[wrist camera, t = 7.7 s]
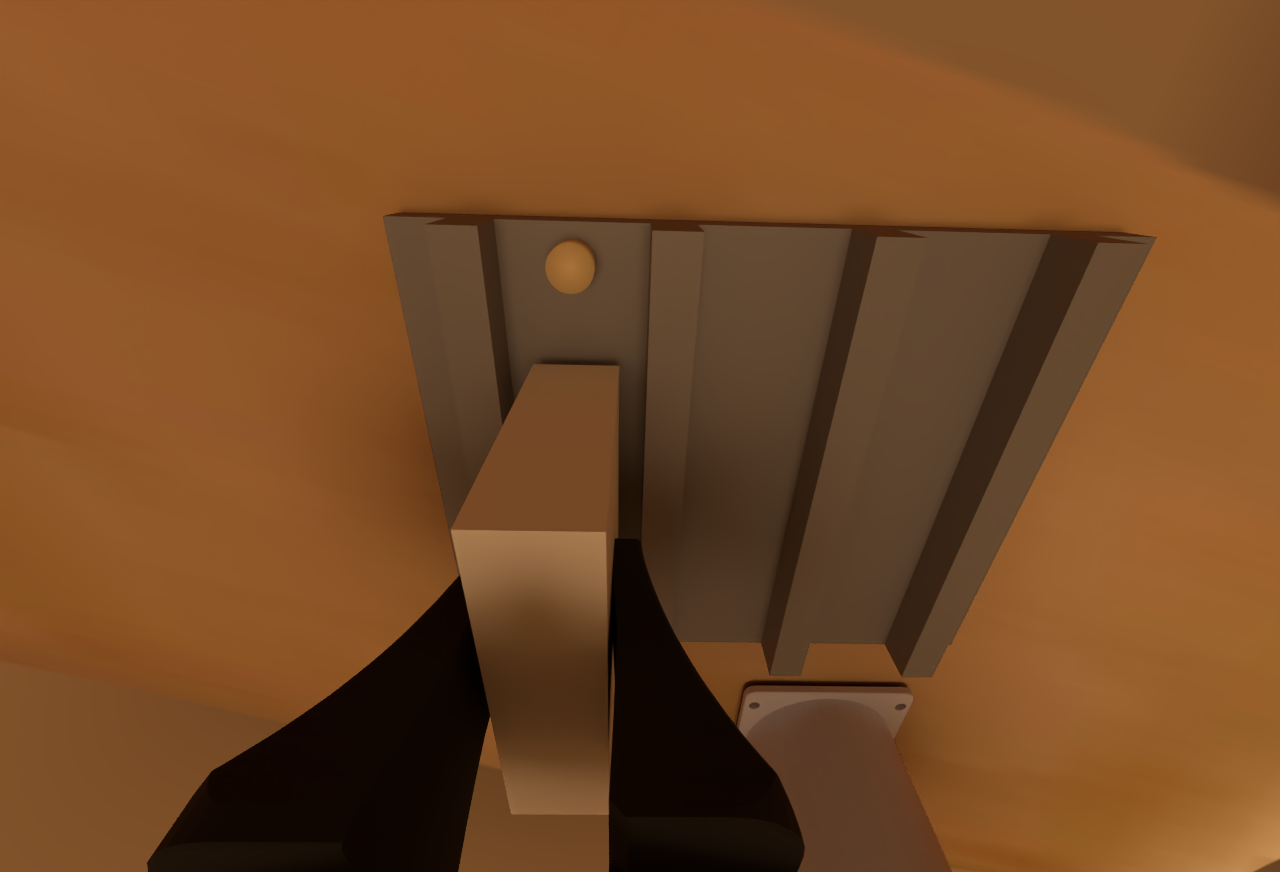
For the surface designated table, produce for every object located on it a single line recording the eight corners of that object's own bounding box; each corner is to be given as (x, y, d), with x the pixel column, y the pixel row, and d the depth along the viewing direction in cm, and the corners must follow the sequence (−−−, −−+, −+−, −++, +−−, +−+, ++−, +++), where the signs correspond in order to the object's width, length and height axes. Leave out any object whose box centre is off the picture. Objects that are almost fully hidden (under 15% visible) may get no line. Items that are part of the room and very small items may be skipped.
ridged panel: (938, 625, 21) (972, 677, 19) (478, 619, 21) (460, 672, 19) (1123, 232, 14) (1215, 246, 11) (399, 212, 13) (352, 222, 11)
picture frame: (618, 594, 18) (609, 814, 12) (549, 593, 18) (505, 814, 12) (619, 365, 14) (605, 532, 8) (528, 363, 14) (441, 529, 8)
